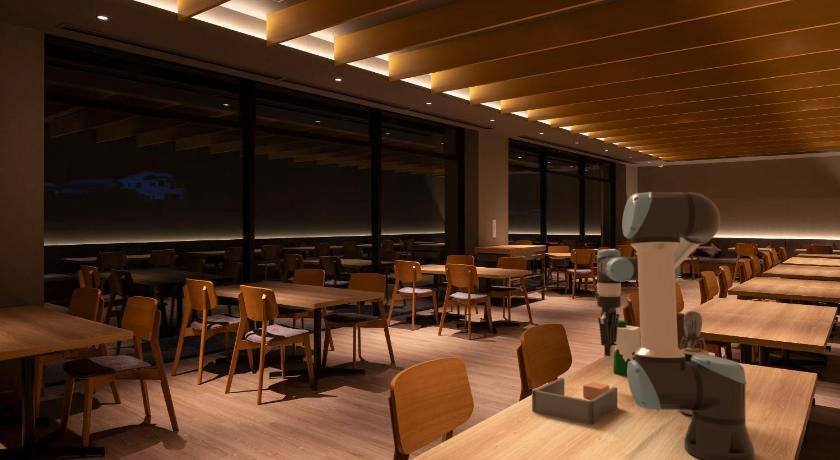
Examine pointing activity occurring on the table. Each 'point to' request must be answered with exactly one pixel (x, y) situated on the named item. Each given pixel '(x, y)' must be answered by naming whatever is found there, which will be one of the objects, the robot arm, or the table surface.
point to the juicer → (692, 330)
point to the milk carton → (625, 347)
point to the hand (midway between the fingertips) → (608, 364)
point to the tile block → (594, 389)
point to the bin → (572, 403)
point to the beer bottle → (681, 329)
